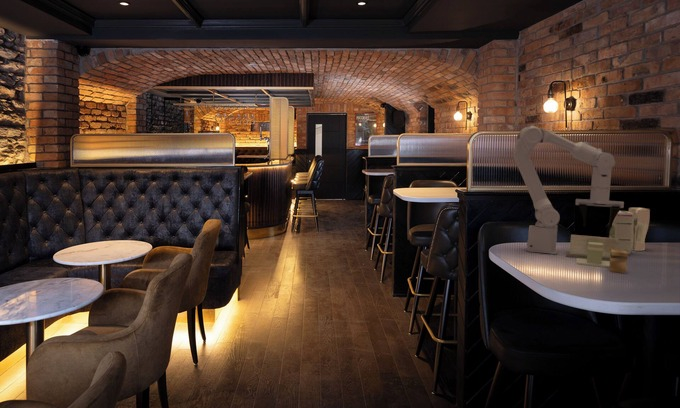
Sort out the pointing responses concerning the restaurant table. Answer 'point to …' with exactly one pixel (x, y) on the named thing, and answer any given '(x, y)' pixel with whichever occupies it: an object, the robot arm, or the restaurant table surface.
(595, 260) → the sage block
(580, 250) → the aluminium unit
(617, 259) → the oak block
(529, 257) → the restaurant table surface
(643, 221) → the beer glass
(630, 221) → the syrup box
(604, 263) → the pad
